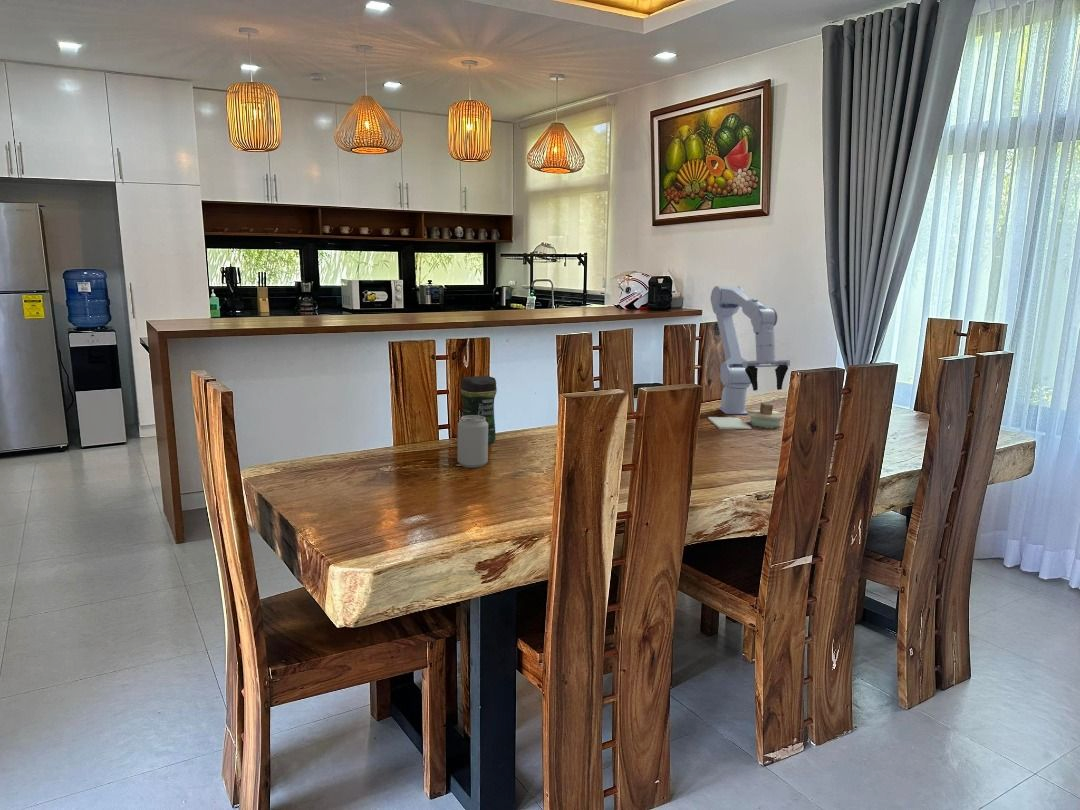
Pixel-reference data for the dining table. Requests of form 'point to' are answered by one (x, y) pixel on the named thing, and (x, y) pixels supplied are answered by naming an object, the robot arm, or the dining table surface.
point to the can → (472, 441)
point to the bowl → (764, 422)
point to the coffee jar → (480, 400)
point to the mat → (729, 423)
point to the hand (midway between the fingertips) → (767, 390)
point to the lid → (766, 412)
